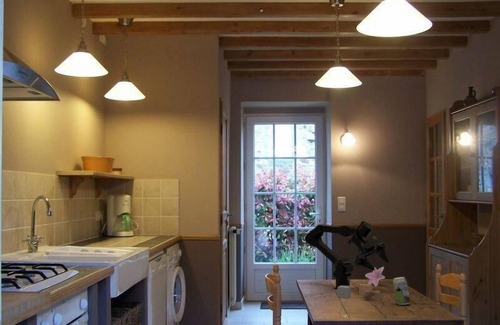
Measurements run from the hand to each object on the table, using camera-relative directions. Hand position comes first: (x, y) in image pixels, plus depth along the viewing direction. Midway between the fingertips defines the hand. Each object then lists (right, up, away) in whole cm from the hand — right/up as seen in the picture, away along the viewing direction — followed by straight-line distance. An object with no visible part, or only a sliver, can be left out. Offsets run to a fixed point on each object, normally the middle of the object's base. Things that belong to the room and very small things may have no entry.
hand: (381, 266), depth 277 cm
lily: (+3, -16, +28) cm, 32 cm away
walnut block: (-8, -13, -16) cm, 22 cm away
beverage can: (+2, -12, -28) cm, 31 cm away
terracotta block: (-8, -14, -2) cm, 16 cm away
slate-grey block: (-20, -13, -8) cm, 25 cm away
